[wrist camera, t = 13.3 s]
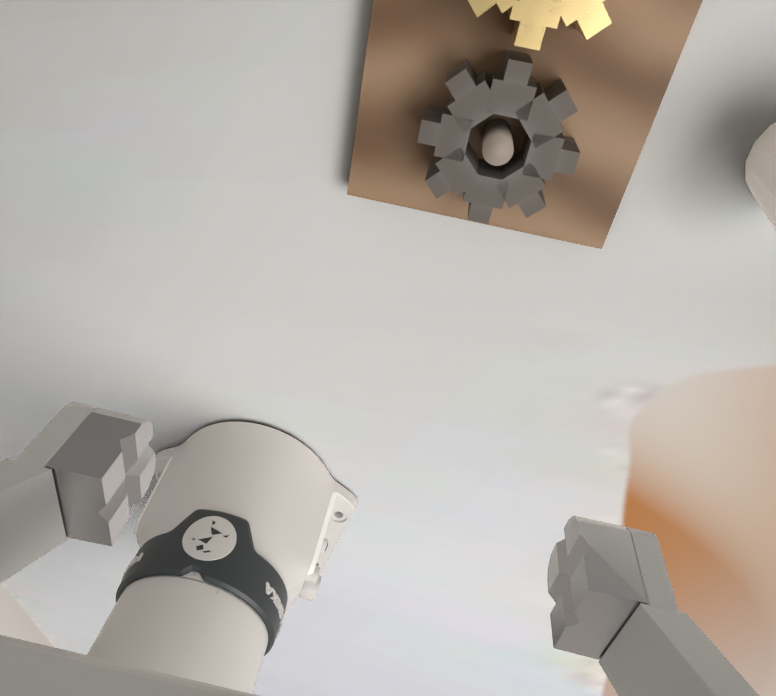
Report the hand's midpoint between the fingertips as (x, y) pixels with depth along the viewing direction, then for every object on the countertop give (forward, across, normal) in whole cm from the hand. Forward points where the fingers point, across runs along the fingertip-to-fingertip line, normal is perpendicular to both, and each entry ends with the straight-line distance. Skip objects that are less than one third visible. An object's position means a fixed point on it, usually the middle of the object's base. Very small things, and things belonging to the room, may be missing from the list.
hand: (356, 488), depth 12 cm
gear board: (+29, +3, +5) cm, 30 cm away
